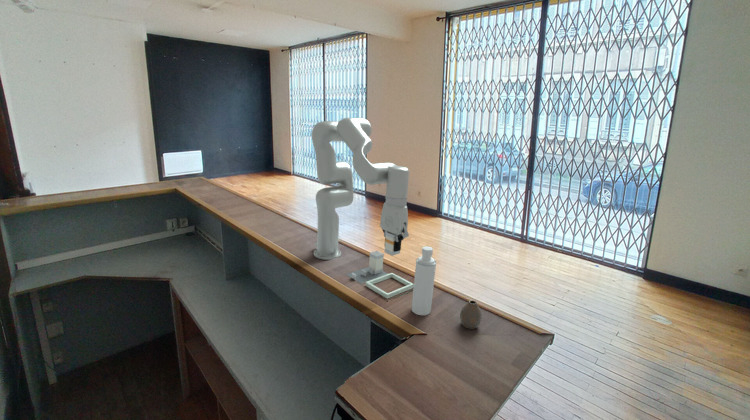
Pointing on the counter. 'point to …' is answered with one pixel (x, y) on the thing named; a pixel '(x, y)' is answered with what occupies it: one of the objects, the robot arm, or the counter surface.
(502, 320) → the counter surface
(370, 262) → the block
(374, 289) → the tray
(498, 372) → the counter surface
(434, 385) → the counter surface
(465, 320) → the vase
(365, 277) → the block
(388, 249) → the block
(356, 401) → the counter surface
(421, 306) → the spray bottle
